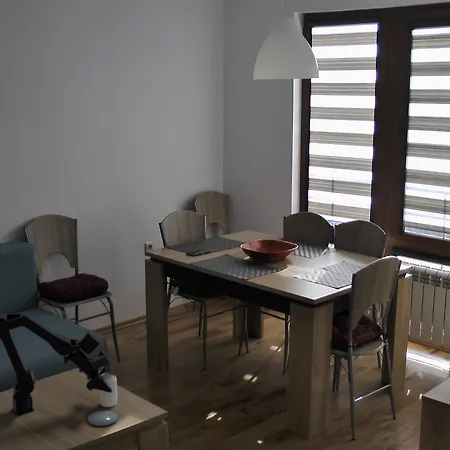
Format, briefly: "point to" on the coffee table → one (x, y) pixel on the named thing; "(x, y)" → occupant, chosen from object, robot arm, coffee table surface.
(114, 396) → the can
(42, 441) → the coffee table surface
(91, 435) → the coffee table surface
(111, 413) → the dish
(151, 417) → the coffee table surface
